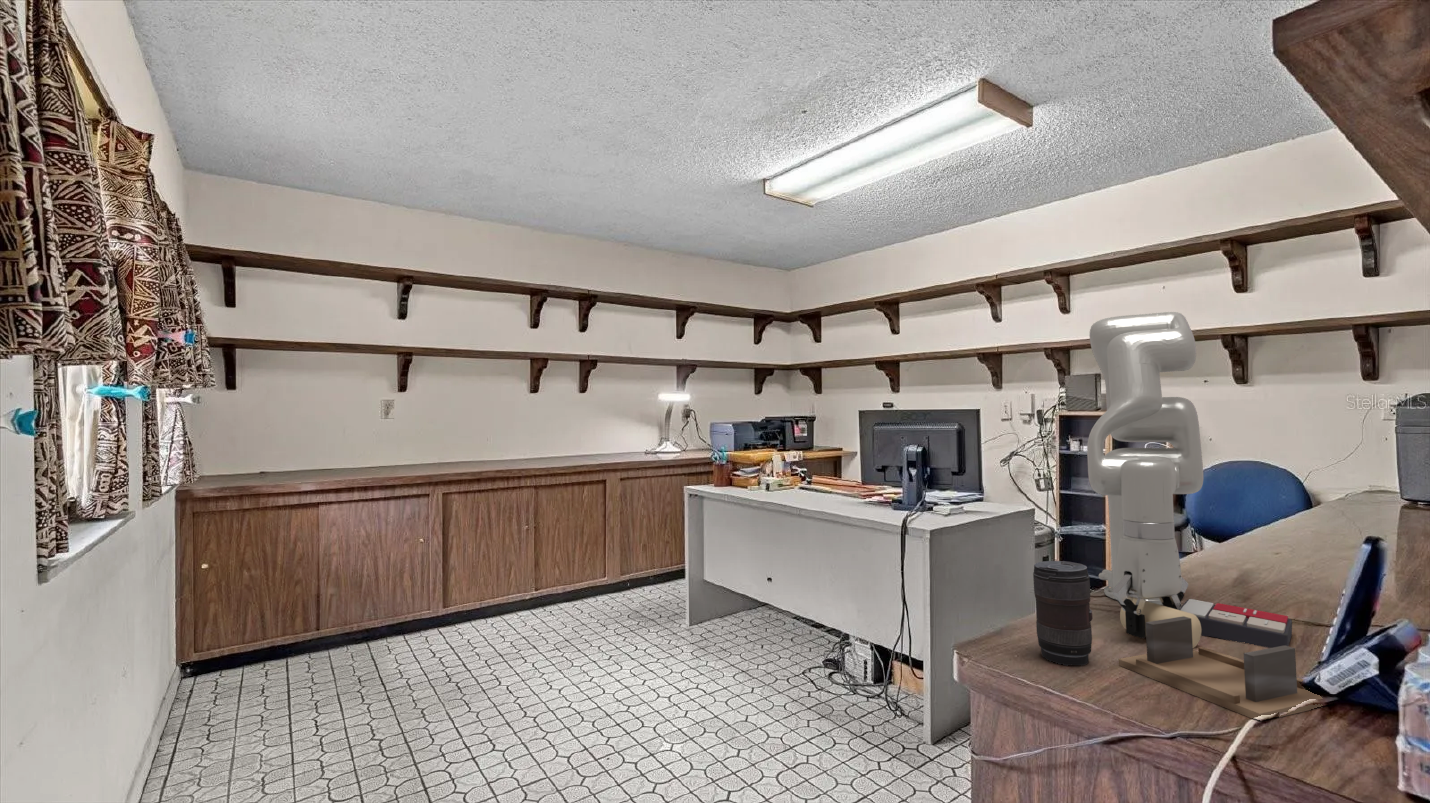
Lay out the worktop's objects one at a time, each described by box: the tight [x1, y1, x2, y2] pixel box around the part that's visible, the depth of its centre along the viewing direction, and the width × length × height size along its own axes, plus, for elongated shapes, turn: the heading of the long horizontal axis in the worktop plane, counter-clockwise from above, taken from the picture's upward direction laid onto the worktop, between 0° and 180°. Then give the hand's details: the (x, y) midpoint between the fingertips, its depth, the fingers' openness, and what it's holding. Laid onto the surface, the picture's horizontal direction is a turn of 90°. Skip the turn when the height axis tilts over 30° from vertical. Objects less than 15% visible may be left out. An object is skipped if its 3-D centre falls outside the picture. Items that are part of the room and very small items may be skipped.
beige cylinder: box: [1119, 598, 1202, 649], centre depth 111 cm, size 10×6×6 cm, turn 18°
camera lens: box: [1032, 560, 1093, 666], centre depth 104 cm, size 8×8×15 cm
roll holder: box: [1118, 616, 1323, 719], centre depth 93 cm, size 20×14×7 cm
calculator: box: [1178, 598, 1293, 649], centre depth 114 cm, size 11×4×15 cm
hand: (1152, 632), depth 112 cm, fingers open, 7 cm apart
